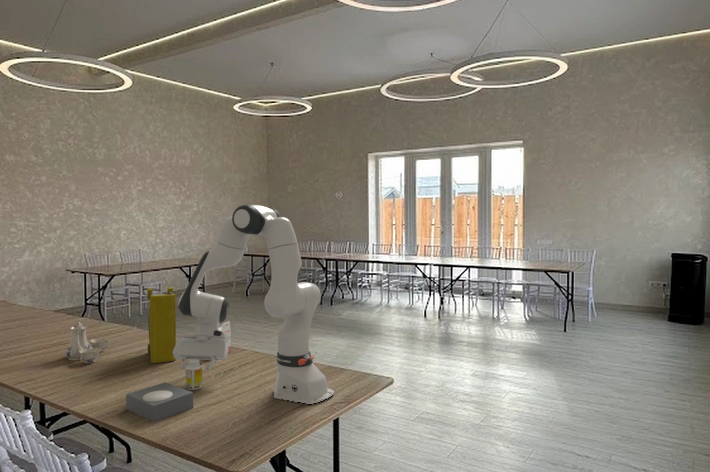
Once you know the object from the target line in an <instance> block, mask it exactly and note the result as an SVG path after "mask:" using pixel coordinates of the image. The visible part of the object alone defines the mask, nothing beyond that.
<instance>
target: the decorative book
mask: <svg viewBox="0 0 710 472" xmlns="http://www.w3.org/2000/svg"><path fill="white" fill-rule="evenodd" d="M146 291H147V300H149V307H148V308H149V310H148V320H147V321H148V341H149V343H148V344H147V355H148V356H150V363H151V364H159V363H160V364H161V363H167V362H173V361H176V360H177V359H176V358H175V357H174V356H173V350H174V347H175V345H176V343H177V339H176V333H177V332H176V331H177V330H176V329H177V327H176V321H177V320H176V313H177V312H176V294H175V293H174V288H173V287H172V286H170V287H167V293H165V292H164V293H153V288H151V287H150V288H149V287H148V288H147V289H146Z"/></svg>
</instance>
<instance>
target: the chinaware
mask: <svg viewBox="0 0 710 472" xmlns="http://www.w3.org/2000/svg"><path fill="white" fill-rule="evenodd" d="M87 328H88V326H86V325H83V324H82V323H81V322H80V321H77V322H76V324H75V325H74V326H73V327H70V328H69V329H70V331H71V337H70V338H71V339H70V342H69V343H68V346H67V347H66V349H65V350H64V354H65V356H66V357H68V358H67V359H69V361H80V362H81V363H85V364H93V362H94V363H95V361H96V360H97V359H98V358H99V356H100V354H101V352H102V351H103V352H104V351H105V350H106V348H107V347H108V346H109V344H110V341H111V338H110V337H107V338H104V337H98V338H96V339H90V340H89V341H88V338H87ZM103 352H102V353H103ZM82 359H83V360H82Z"/></svg>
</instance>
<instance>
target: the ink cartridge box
mask: <svg viewBox="0 0 710 472" xmlns="http://www.w3.org/2000/svg"><path fill="white" fill-rule="evenodd" d="M220 325H221V326H219V327H218V330H219V331H222V332H224V333H225V334H226V336H227V338H228V343H227V345H228V354H229V353H231V351H232V350H231V349H232V348H231V347H232V346H231V345H232V343H231V342H232V341H231V337H232V336H231V335H232V334H231V333H232V332H231V322H230V320H228V321H226V322H223V323H221V324H220Z"/></svg>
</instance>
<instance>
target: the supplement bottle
mask: <svg viewBox="0 0 710 472" xmlns="http://www.w3.org/2000/svg"><path fill="white" fill-rule="evenodd" d="M187 362H188V363H187V367H186V369H185V385H186V386H185V388H186V390H188V391H195V390H200V389H202V387H203V366H202V365H201V364H200V363H201V362H200V360H199V359H188V361H187Z"/></svg>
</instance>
